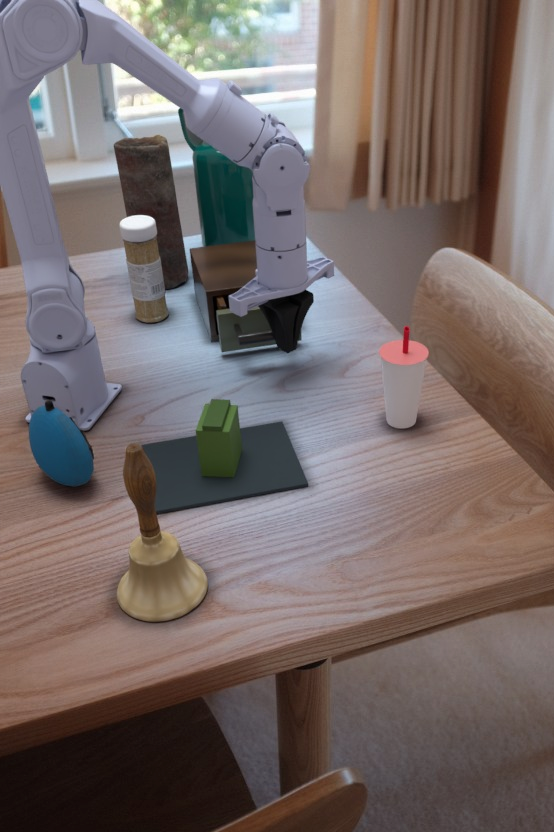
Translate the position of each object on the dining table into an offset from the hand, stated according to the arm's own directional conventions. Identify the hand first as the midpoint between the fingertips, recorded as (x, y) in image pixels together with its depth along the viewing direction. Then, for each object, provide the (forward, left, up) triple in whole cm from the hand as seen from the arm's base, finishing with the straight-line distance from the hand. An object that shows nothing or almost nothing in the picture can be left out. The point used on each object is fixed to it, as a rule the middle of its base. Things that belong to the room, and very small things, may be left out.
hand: (286, 348), depth 110 cm
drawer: (+8, +7, -2) cm, 10 cm away
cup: (-7, -16, -4) cm, 18 cm away
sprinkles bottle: (+10, +22, -4) cm, 25 cm away
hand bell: (-39, 0, -4) cm, 39 cm away
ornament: (-26, +16, -4) cm, 31 cm away
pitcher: (+31, +18, -4) cm, 36 cm away
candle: (+21, +25, -4) cm, 33 cm away
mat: (-20, +1, -3) cm, 20 cm away
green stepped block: (-20, +1, -3) cm, 20 cm away
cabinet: (+14, +10, -3) cm, 18 cm away
